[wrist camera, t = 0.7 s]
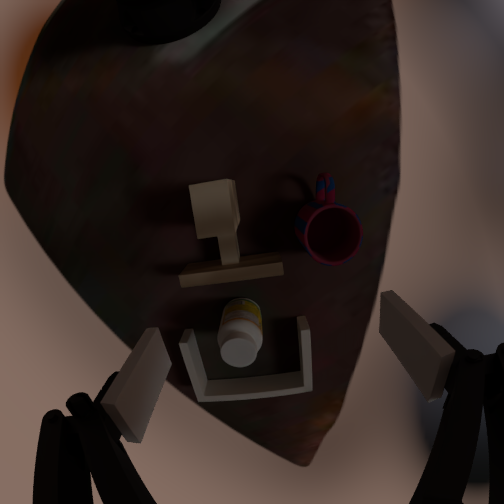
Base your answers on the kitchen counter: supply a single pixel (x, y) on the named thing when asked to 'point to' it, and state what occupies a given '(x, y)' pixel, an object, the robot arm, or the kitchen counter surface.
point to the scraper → (223, 239)
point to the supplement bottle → (240, 332)
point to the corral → (248, 385)
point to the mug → (328, 226)
